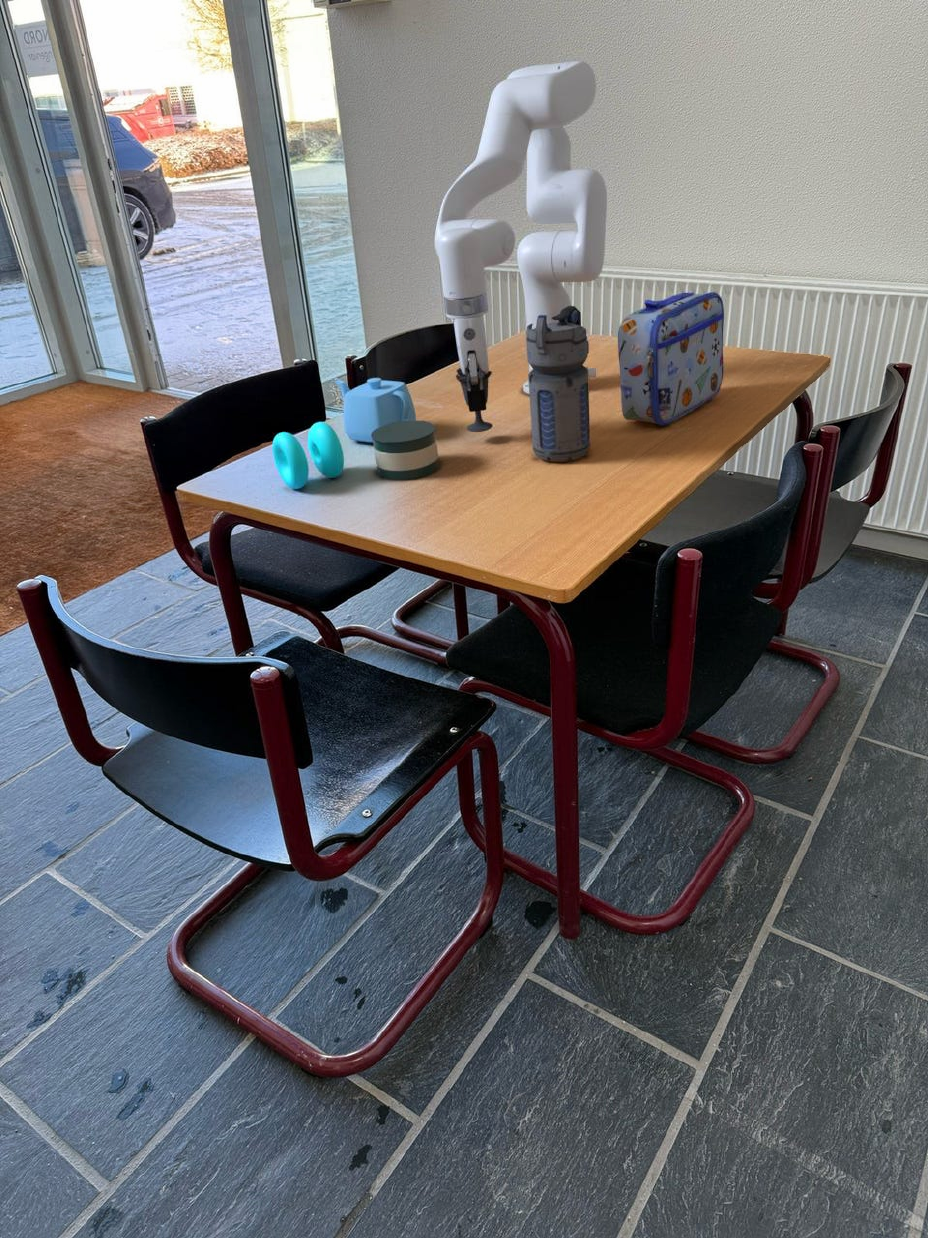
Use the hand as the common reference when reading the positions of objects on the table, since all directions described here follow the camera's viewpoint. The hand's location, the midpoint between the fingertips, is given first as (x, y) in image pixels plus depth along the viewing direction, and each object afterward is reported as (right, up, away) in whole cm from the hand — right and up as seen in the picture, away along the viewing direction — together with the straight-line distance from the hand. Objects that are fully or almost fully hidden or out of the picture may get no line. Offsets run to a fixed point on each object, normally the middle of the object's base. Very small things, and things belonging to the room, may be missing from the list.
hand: (477, 404), depth 168 cm
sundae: (+1, -4, +2) cm, 5 cm away
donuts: (-29, -16, -6) cm, 34 cm away
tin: (-12, -13, -5) cm, 19 cm away
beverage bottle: (+15, -10, -6) cm, 20 cm away
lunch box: (+38, 0, +7) cm, 38 cm away
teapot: (-20, -4, +12) cm, 24 cm away
